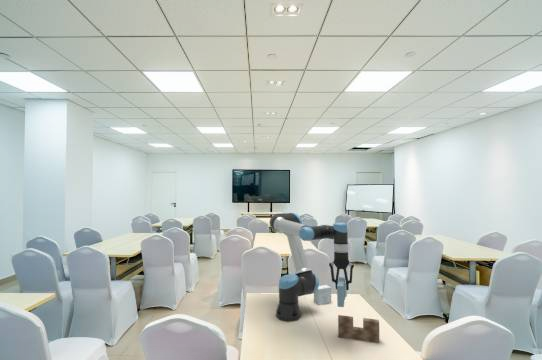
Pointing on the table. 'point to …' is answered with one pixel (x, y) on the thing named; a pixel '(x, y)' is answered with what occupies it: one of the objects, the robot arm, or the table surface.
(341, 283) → the long blue bar
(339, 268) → the robot arm
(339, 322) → the slotted beam
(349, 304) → the table surface
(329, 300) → the skincare box
